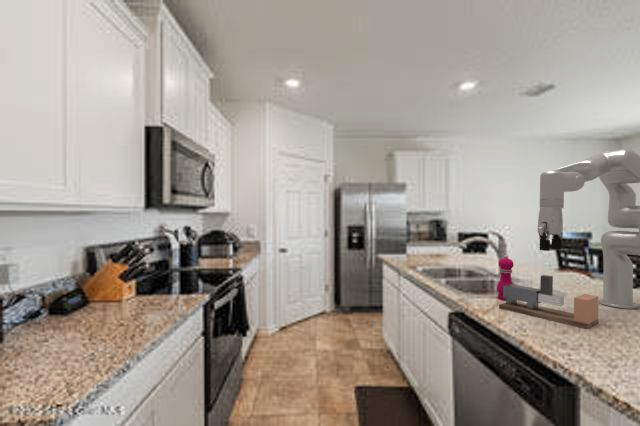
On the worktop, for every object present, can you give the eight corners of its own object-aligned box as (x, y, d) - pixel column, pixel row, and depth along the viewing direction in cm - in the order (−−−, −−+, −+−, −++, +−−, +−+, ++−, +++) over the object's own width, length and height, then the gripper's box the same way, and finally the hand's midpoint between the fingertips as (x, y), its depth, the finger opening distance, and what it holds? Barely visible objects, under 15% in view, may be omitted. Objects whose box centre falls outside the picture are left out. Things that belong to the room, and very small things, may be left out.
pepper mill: (499, 300, 151) (499, 255, 151) (494, 296, 158) (495, 253, 158) (517, 301, 149) (517, 256, 149) (511, 297, 156) (512, 254, 156)
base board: (512, 304, 145) (512, 300, 145) (598, 322, 121) (598, 318, 121) (499, 308, 139) (499, 304, 139) (587, 328, 114) (587, 324, 114)
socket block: (584, 316, 124) (584, 293, 124) (598, 319, 121) (598, 296, 120) (573, 321, 118) (574, 297, 118) (587, 324, 115) (588, 300, 115)
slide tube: (510, 294, 142) (511, 270, 142) (563, 304, 126) (564, 277, 126) (507, 295, 140) (507, 271, 140) (560, 306, 124) (560, 278, 124)
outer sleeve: (508, 301, 143) (509, 283, 143) (541, 308, 133) (542, 289, 133) (502, 303, 140) (503, 285, 140) (536, 310, 130) (536, 291, 130)
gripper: (550, 205, 136) (550, 247, 136) (529, 203, 126) (528, 249, 126) (572, 205, 129) (572, 249, 129) (552, 203, 120) (551, 252, 120)
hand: (550, 249), depth 128 cm, fingers open, 9 cm apart
